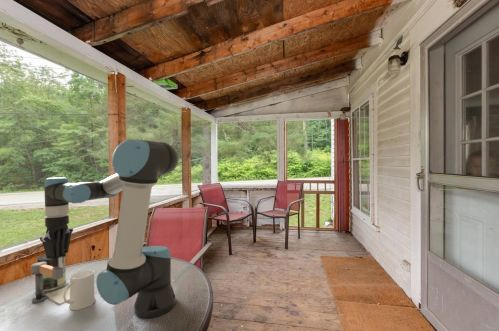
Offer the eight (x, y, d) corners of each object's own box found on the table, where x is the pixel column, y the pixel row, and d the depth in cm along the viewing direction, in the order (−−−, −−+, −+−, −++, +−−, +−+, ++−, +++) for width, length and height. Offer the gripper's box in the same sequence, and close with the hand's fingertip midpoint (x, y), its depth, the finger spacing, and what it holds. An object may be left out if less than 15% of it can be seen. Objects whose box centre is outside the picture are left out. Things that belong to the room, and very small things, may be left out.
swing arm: (28, 273, 98) (28, 264, 98) (42, 268, 102) (42, 260, 102) (52, 281, 91) (52, 271, 91) (66, 275, 95) (66, 266, 95)
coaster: (94, 290, 106) (93, 288, 106) (59, 305, 95) (59, 303, 95) (79, 283, 113) (79, 281, 113) (45, 296, 102) (45, 294, 102)
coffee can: (43, 293, 104) (43, 261, 104) (33, 288, 109) (32, 257, 109) (70, 283, 113) (70, 253, 113) (59, 278, 118) (59, 250, 118)
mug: (70, 317, 87) (70, 284, 87) (54, 312, 90) (54, 281, 90) (100, 299, 99) (99, 271, 99) (85, 296, 101) (85, 268, 101)
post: (48, 299, 100) (47, 271, 100) (34, 304, 96) (34, 275, 96) (43, 296, 102) (43, 269, 102) (30, 301, 98) (30, 273, 98)
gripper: (62, 212, 103) (63, 266, 104) (32, 219, 90) (33, 280, 91) (78, 212, 103) (79, 266, 103) (50, 219, 90) (51, 281, 90)
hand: (58, 273), depth 97 cm, fingers closed
